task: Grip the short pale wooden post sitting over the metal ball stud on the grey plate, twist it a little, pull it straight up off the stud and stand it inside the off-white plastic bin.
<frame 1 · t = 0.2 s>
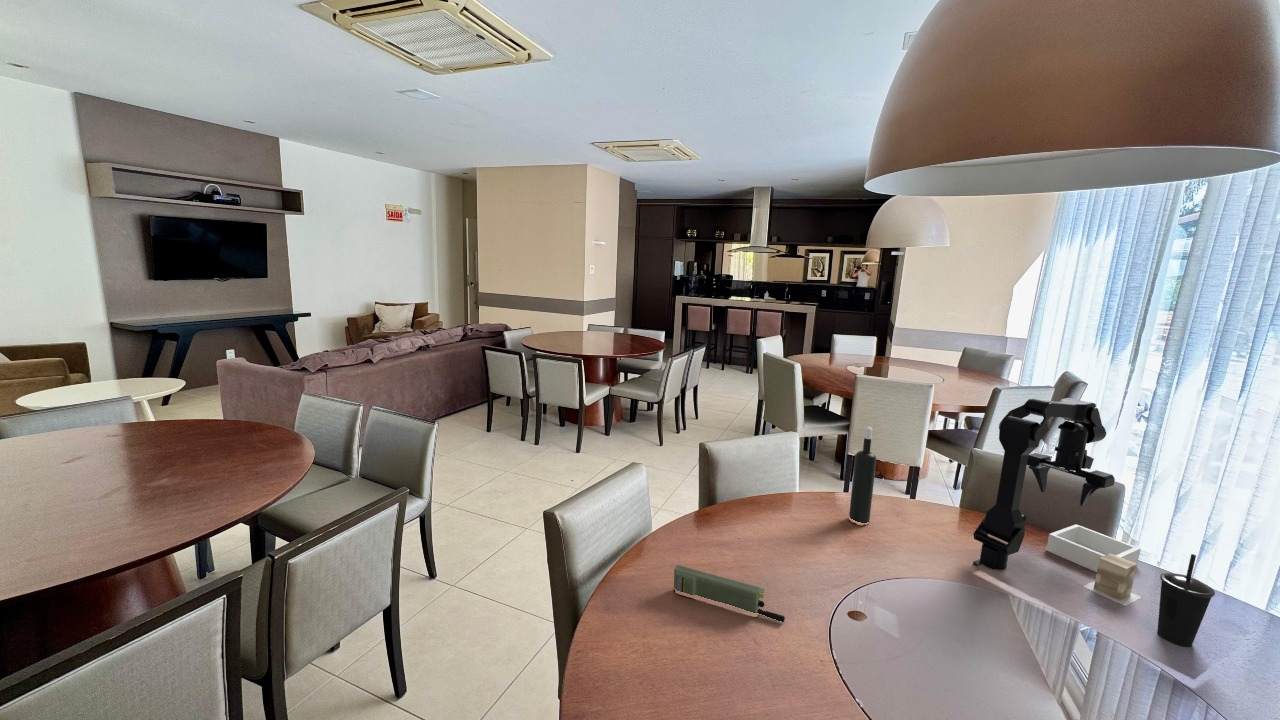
hand: (1061, 498, 141), 14 cm above the table, tool pointing down, fingers open, 9 cm apart
wine bottle: (858, 522, 155), on the table
handheld radio: (726, 608, 113), on the table
drinking cup: (1173, 644, 105), on the table
wooden post: (1111, 591, 121), point 1 cm above the table, touching stud plate
stud plate: (1110, 596, 121), on the table
white bin: (1089, 561, 136), on the table
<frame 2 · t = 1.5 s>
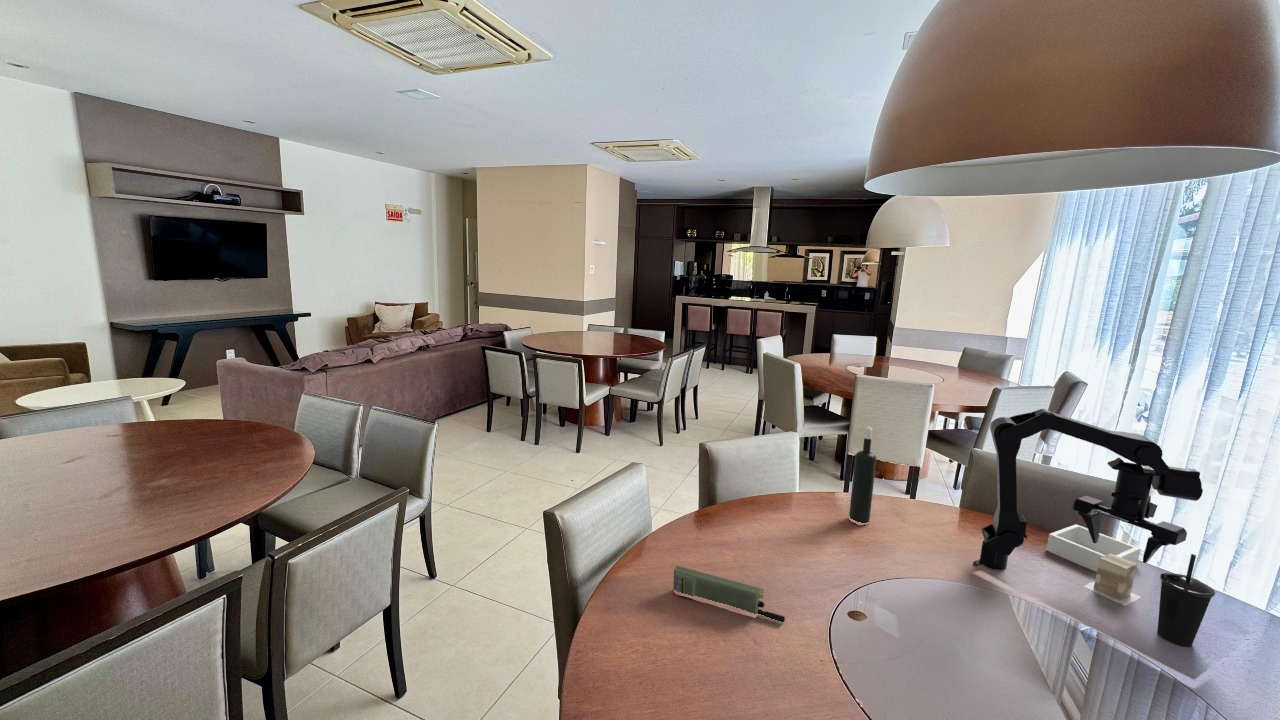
hand: (1119, 552, 119), 11 cm above the table, tool pointing down, fingers open, 9 cm apart
nothing on the table moved.
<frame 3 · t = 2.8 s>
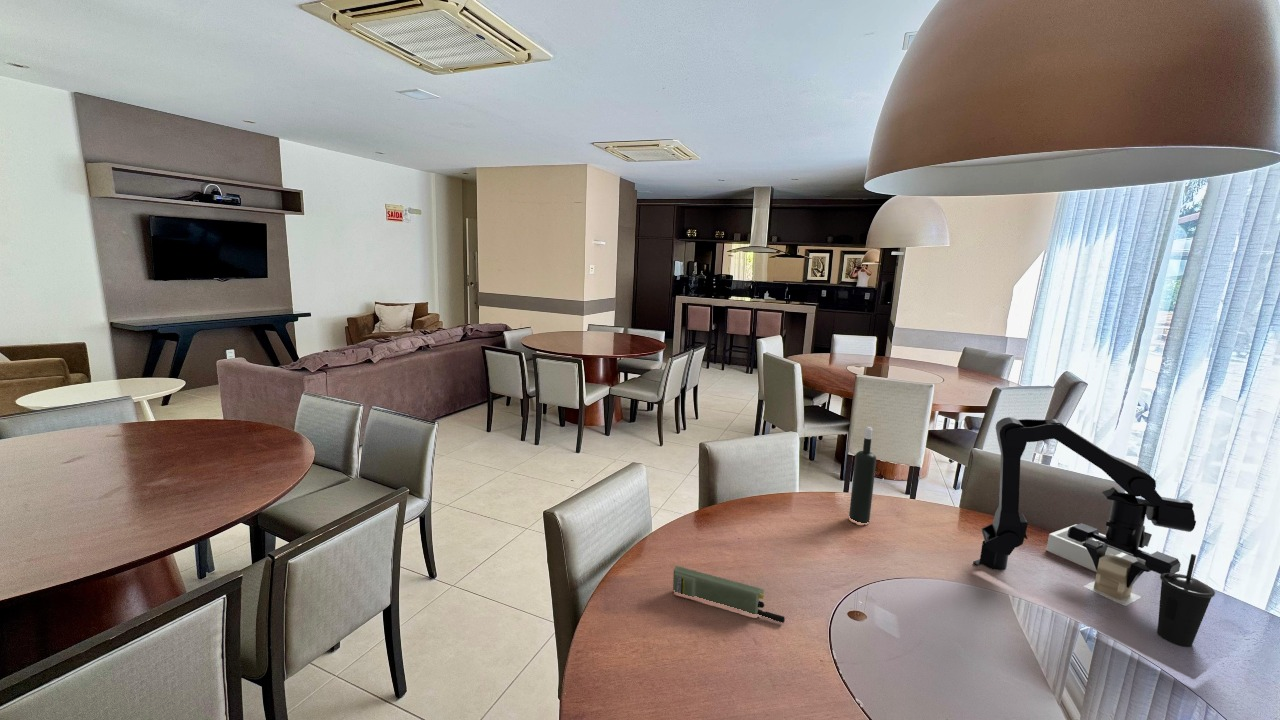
hand: (1114, 580, 120), 4 cm above the table, tool pointing down, fingers closed on wooden post, 5 cm apart
wooden post: (1111, 591, 121), point 1 cm above the table, touching gripper, stud plate
everything else where it was.
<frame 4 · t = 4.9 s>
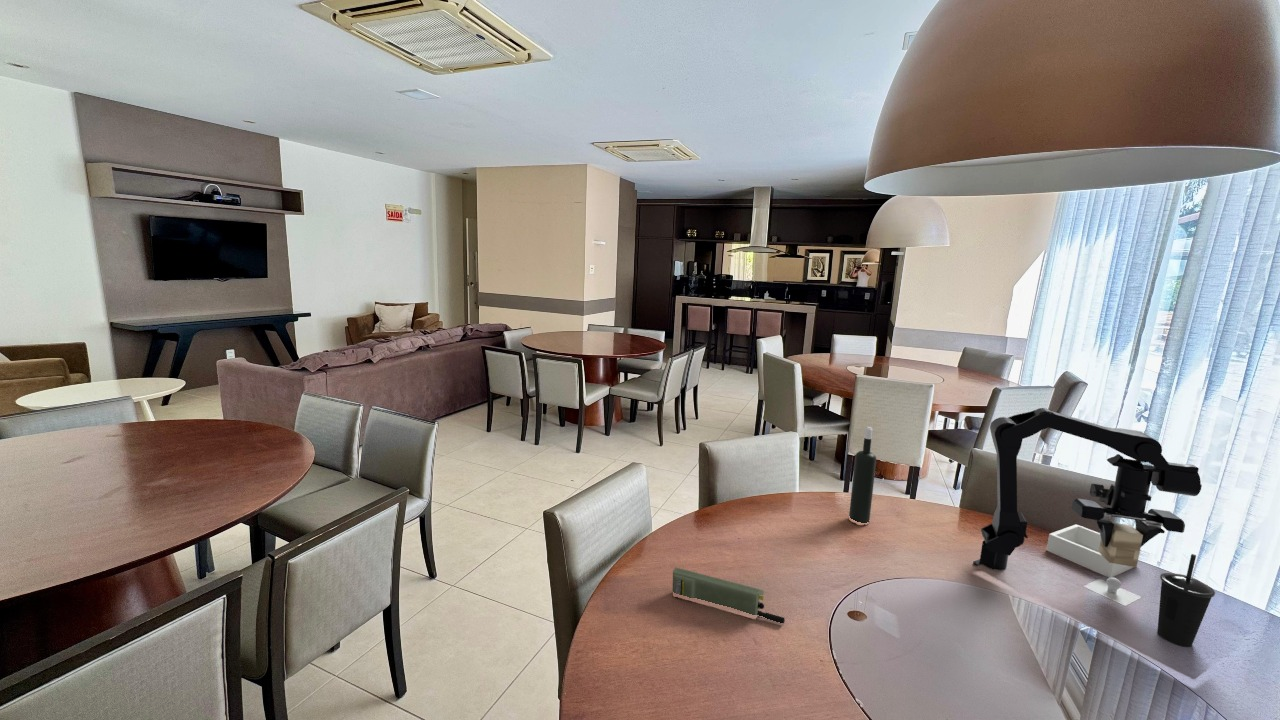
hand: (1119, 548, 120), 12 cm above the table, tool pointing down, fingers closed on wooden post, 5 cm apart
wooden post: (1116, 559, 120), point 9 cm above the table, touching gripper
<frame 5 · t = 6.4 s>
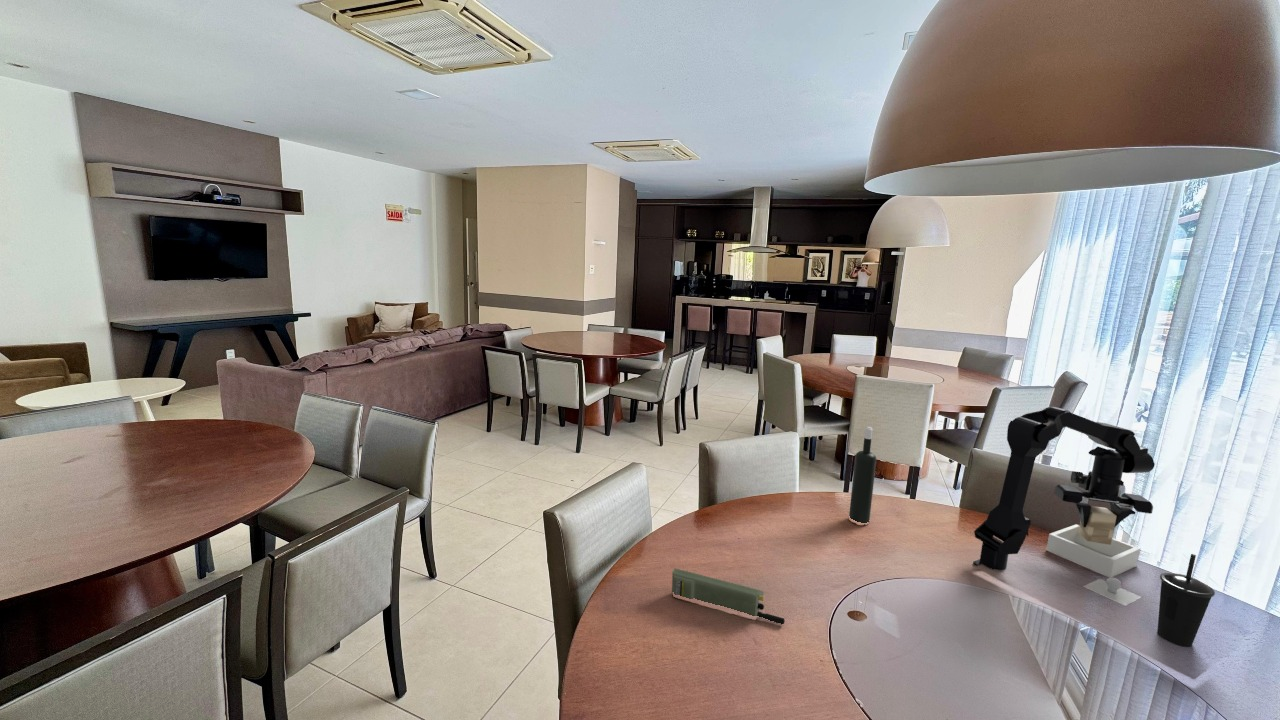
hand: (1095, 528, 134), 10 cm above the table, tool pointing down, fingers closed on wooden post, 5 cm apart
wooden post: (1094, 538, 135), point 7 cm above the table, touching gripper
when the fingers open (6 cm above the table, at t = 7.4 s): wooden post drops 2 cm, resting on white bin.
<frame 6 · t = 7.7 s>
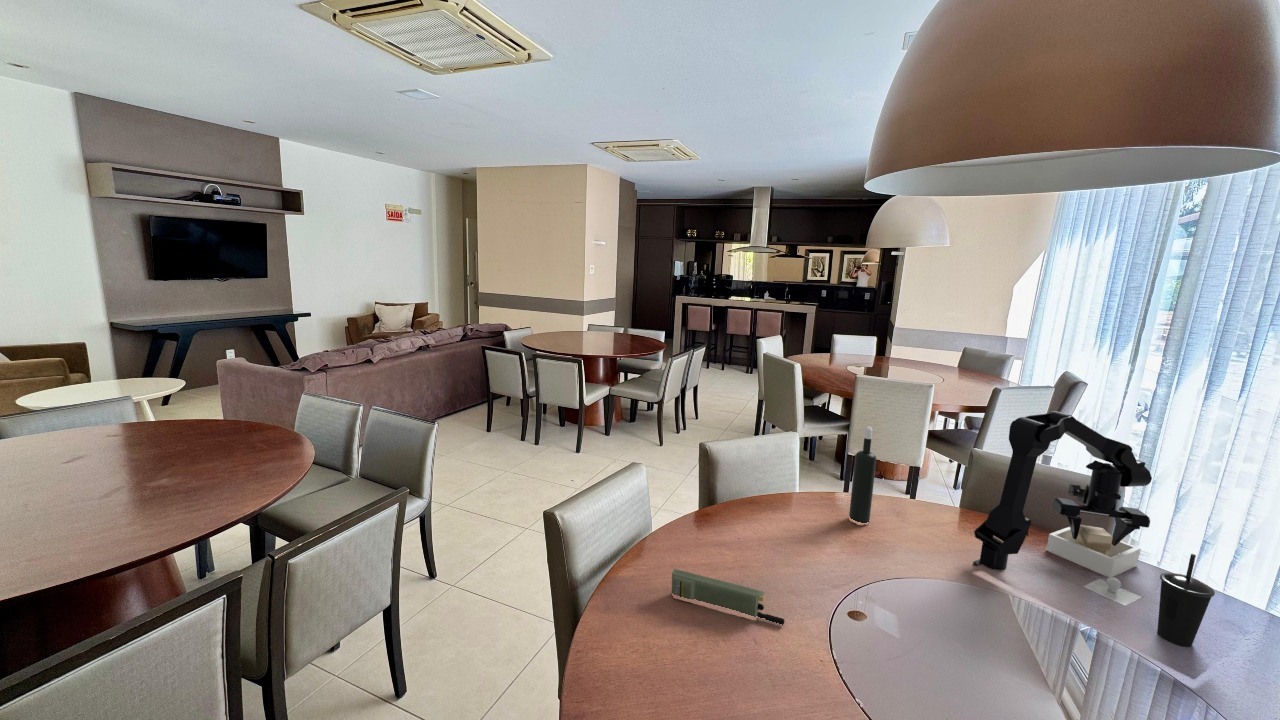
hand: (1093, 541, 135), 6 cm above the table, tool pointing down, fingers open, 8 cm apart
wooden post: (1090, 558, 136), point 1 cm above the table, touching white bin
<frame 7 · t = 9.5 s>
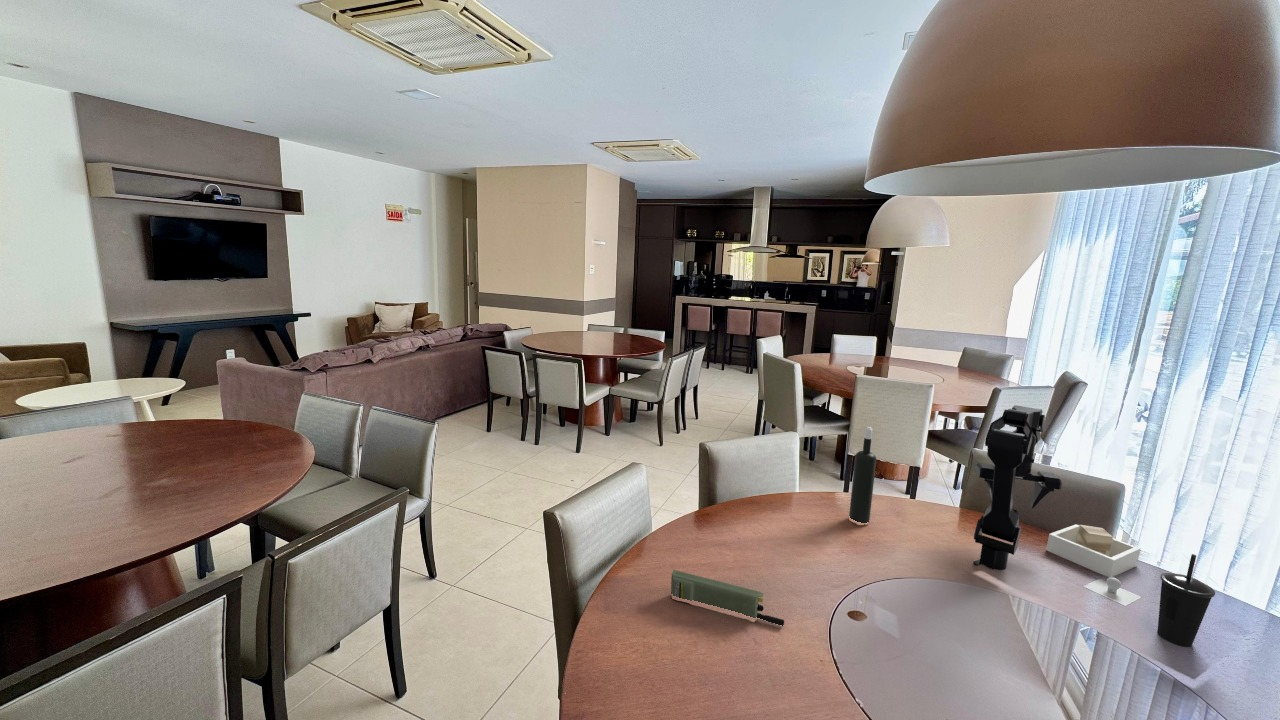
hand: (1012, 504, 142), 12 cm above the table, tool pointing down, fingers open, 9 cm apart
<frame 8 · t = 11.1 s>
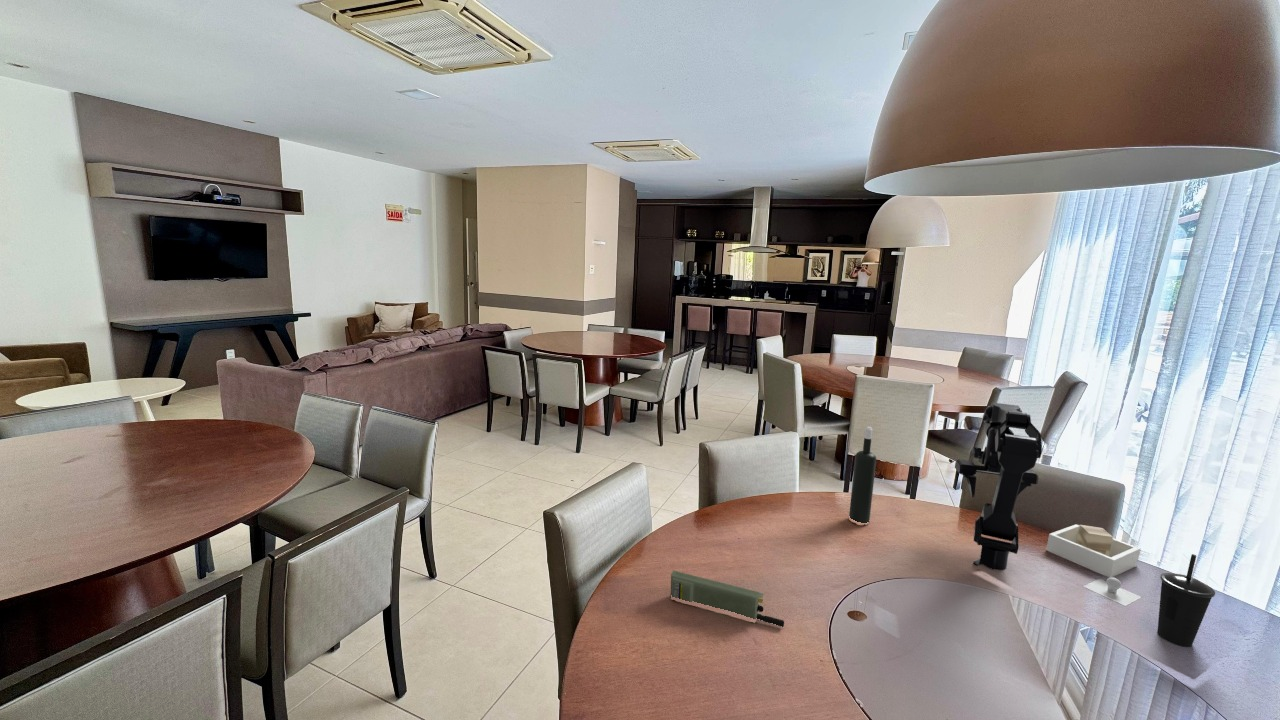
hand: (990, 499, 145), 12 cm above the table, tool pointing down, fingers open, 9 cm apart
at the end: wooden post inside the target area on the white bin (0.0 cm from its centre), point 1.0 cm above the white bin's base; the gripper is holding nothing; drinking cup moved 0.2 cm from its start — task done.
